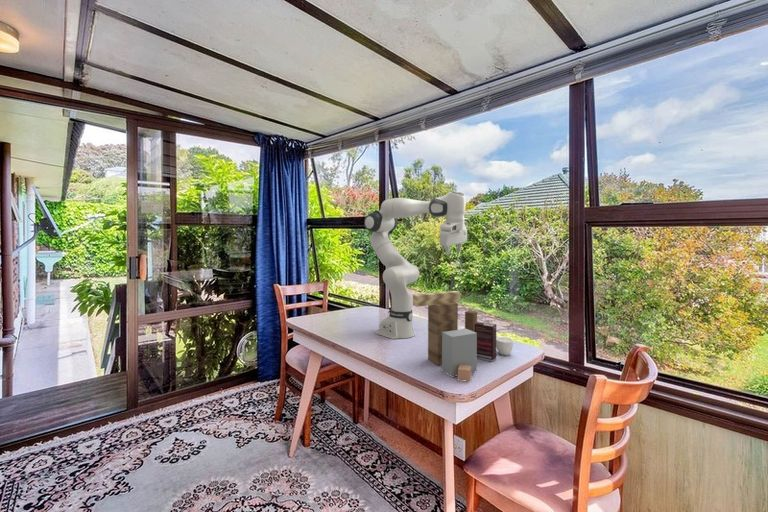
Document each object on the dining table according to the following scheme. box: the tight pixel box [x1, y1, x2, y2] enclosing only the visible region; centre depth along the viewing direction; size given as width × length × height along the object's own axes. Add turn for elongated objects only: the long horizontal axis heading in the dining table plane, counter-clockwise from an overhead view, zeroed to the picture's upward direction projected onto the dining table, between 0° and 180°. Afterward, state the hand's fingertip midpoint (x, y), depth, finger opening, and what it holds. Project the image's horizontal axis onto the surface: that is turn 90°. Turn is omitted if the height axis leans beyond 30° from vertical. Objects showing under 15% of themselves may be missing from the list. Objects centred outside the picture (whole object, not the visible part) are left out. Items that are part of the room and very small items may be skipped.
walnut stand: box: [427, 302, 459, 367], centre depth 145 cm, size 10×8×26 cm
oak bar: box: [412, 290, 461, 308], centre depth 143 cm, size 22×4×4 cm, turn 114°
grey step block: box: [441, 328, 478, 377], centre depth 135 cm, size 12×7×16 cm, turn 114°
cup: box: [496, 336, 514, 356], centre depth 155 cm, size 8×10×7 cm
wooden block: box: [464, 310, 478, 332], centre depth 161 cm, size 9×4×18 cm, turn 137°
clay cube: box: [457, 365, 472, 382], centre depth 128 cm, size 4×4×4 cm
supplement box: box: [475, 321, 497, 362], centre depth 148 cm, size 9×5×16 cm, turn 52°
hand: (453, 253), depth 163 cm, fingers open, 8 cm apart
